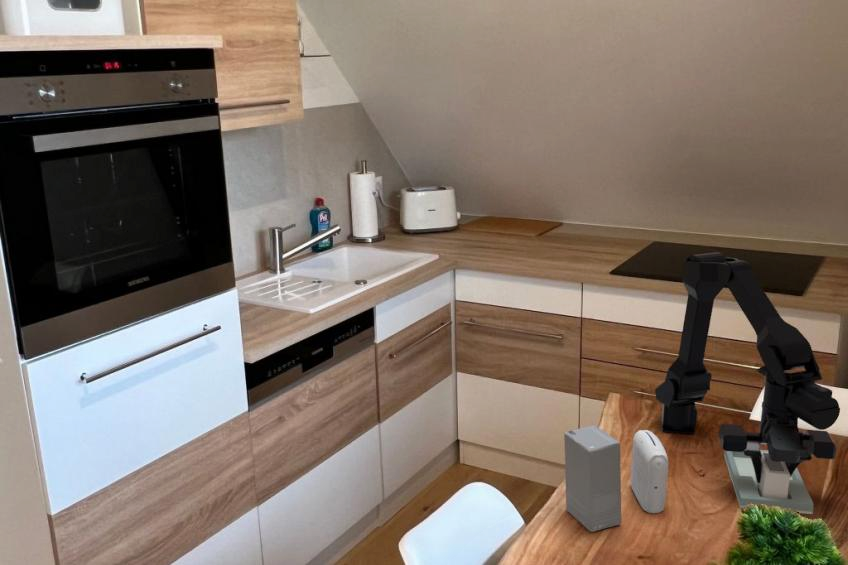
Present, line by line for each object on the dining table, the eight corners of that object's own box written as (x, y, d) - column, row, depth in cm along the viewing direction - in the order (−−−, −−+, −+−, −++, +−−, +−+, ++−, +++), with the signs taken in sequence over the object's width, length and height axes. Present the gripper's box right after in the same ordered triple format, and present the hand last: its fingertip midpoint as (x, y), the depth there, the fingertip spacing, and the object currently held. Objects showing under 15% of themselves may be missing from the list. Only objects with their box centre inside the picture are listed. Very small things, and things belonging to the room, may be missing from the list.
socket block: (762, 500, 146) (766, 471, 144) (754, 477, 153) (757, 449, 152) (786, 502, 145) (790, 473, 143) (777, 479, 153) (780, 451, 151)
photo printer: (667, 513, 144) (672, 450, 141) (643, 514, 144) (647, 451, 140) (650, 483, 154) (654, 423, 150) (627, 484, 154) (631, 424, 150)
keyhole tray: (740, 507, 145) (741, 498, 145) (724, 455, 163) (725, 446, 163) (812, 514, 143) (813, 504, 143) (788, 460, 161) (789, 451, 160)
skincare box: (621, 525, 141) (626, 442, 136) (586, 535, 138) (590, 451, 134) (594, 501, 148) (598, 421, 144) (560, 509, 146) (563, 429, 141)
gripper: (731, 421, 138) (723, 502, 143) (850, 429, 135) (838, 512, 139) (722, 393, 149) (714, 470, 153) (832, 400, 145) (821, 478, 150)
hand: (770, 483), depth 149 cm, fingers closed on socket block, 4 cm apart
